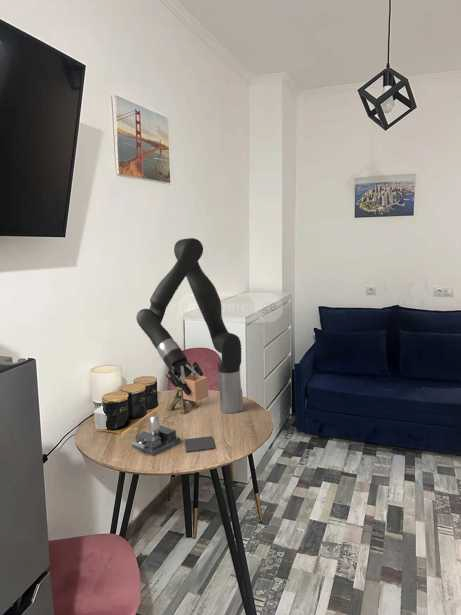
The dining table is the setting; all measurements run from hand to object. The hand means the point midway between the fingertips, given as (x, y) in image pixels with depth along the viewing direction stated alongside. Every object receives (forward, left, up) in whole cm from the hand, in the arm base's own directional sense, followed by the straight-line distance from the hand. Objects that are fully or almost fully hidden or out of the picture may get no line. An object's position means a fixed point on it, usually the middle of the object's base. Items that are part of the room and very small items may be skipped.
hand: (196, 391), depth 158 cm
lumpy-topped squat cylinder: (+33, -30, -20) cm, 49 cm away
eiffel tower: (+4, -39, -20) cm, 44 cm away
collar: (0, 0, -3) cm, 3 cm away
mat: (0, 0, -20) cm, 20 cm away
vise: (+15, -5, -20) cm, 26 cm away
